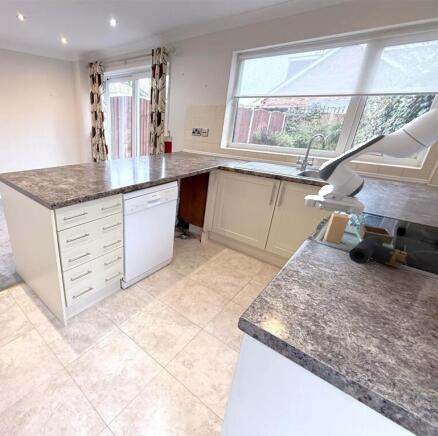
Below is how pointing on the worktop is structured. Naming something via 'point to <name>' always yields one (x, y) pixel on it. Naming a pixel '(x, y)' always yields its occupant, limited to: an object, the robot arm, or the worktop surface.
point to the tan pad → (336, 227)
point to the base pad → (375, 234)
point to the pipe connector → (376, 252)
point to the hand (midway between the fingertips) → (334, 210)
